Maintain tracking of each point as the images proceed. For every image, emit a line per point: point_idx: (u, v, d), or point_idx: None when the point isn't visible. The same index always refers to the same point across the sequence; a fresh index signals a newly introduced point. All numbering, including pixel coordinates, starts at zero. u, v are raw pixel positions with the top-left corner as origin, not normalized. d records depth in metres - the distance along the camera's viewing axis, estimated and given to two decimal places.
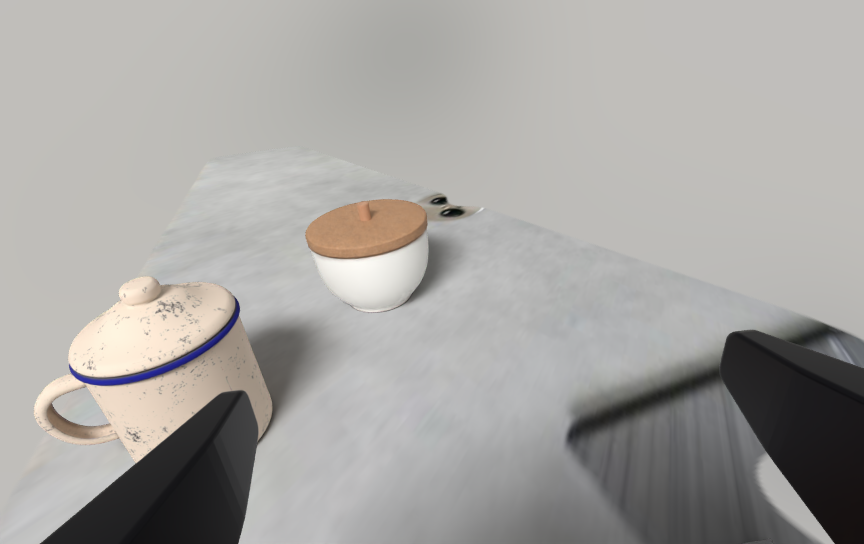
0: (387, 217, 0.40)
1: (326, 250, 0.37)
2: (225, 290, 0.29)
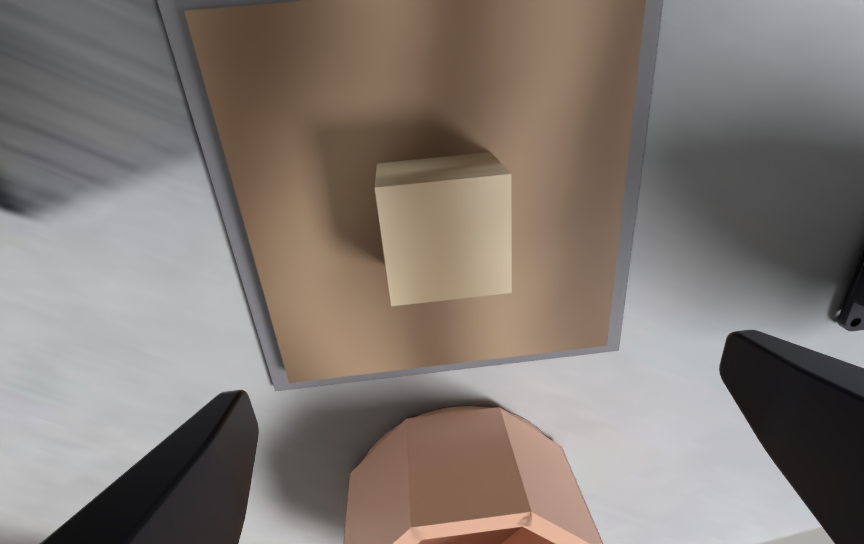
0: None
1: None
2: None
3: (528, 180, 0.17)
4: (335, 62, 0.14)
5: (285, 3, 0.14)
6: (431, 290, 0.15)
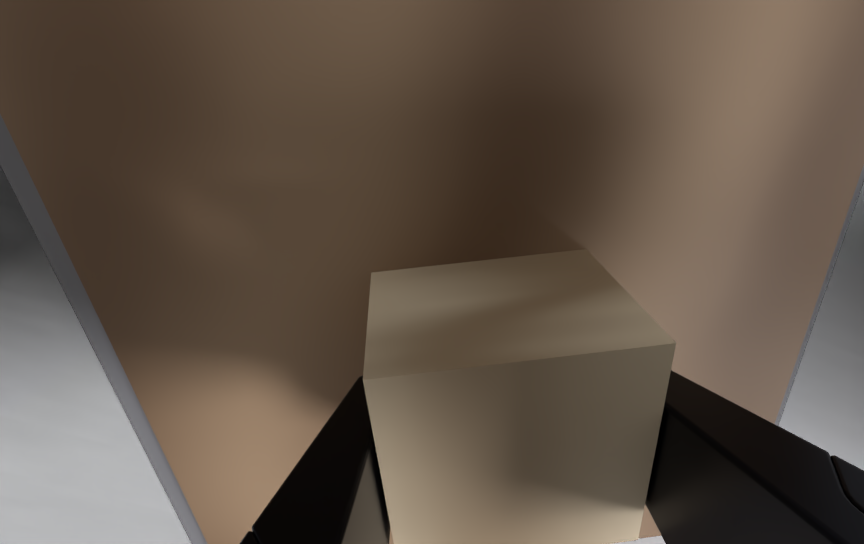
0: None
1: None
2: None
3: (649, 294, 0.09)
4: (282, 84, 0.07)
5: None
6: None
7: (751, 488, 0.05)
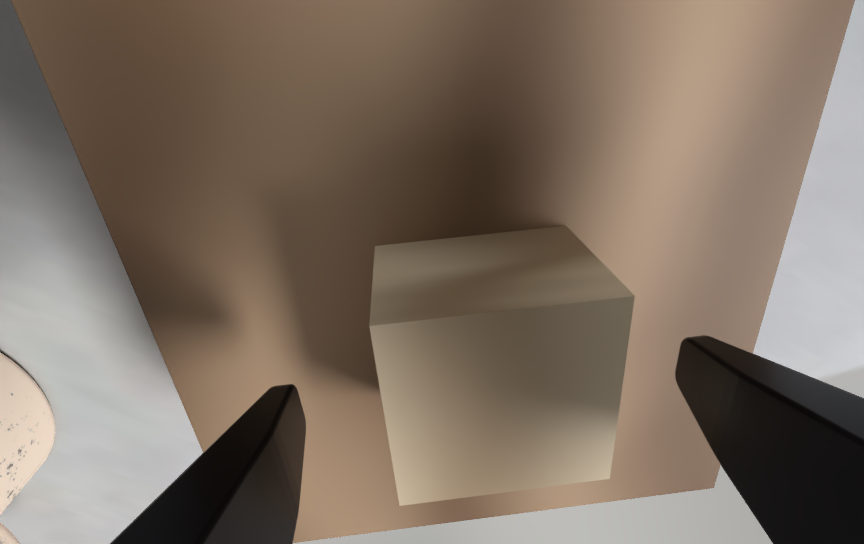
0: None
1: None
2: None
3: (623, 268, 0.10)
4: (299, 77, 0.08)
5: None
6: (471, 480, 0.08)
7: None
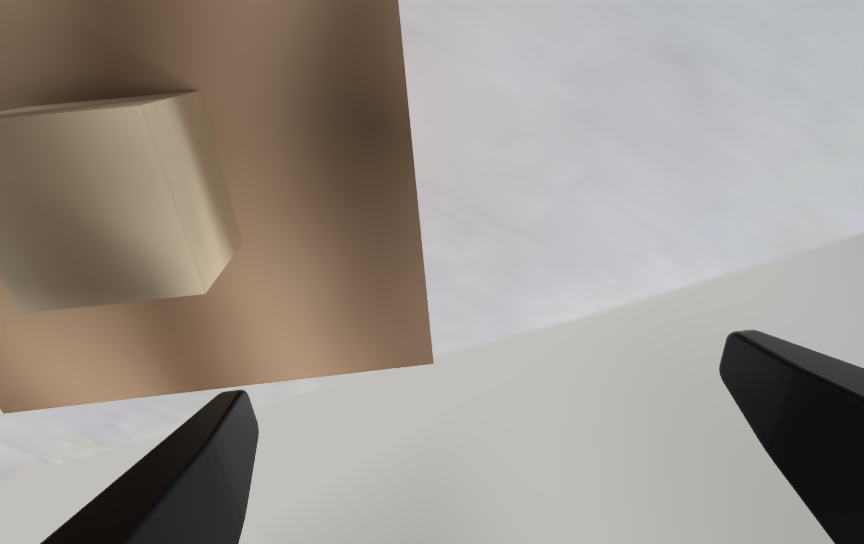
0: None
1: None
2: None
3: (267, 134, 0.12)
4: None
5: None
6: (76, 290, 0.10)
7: None
